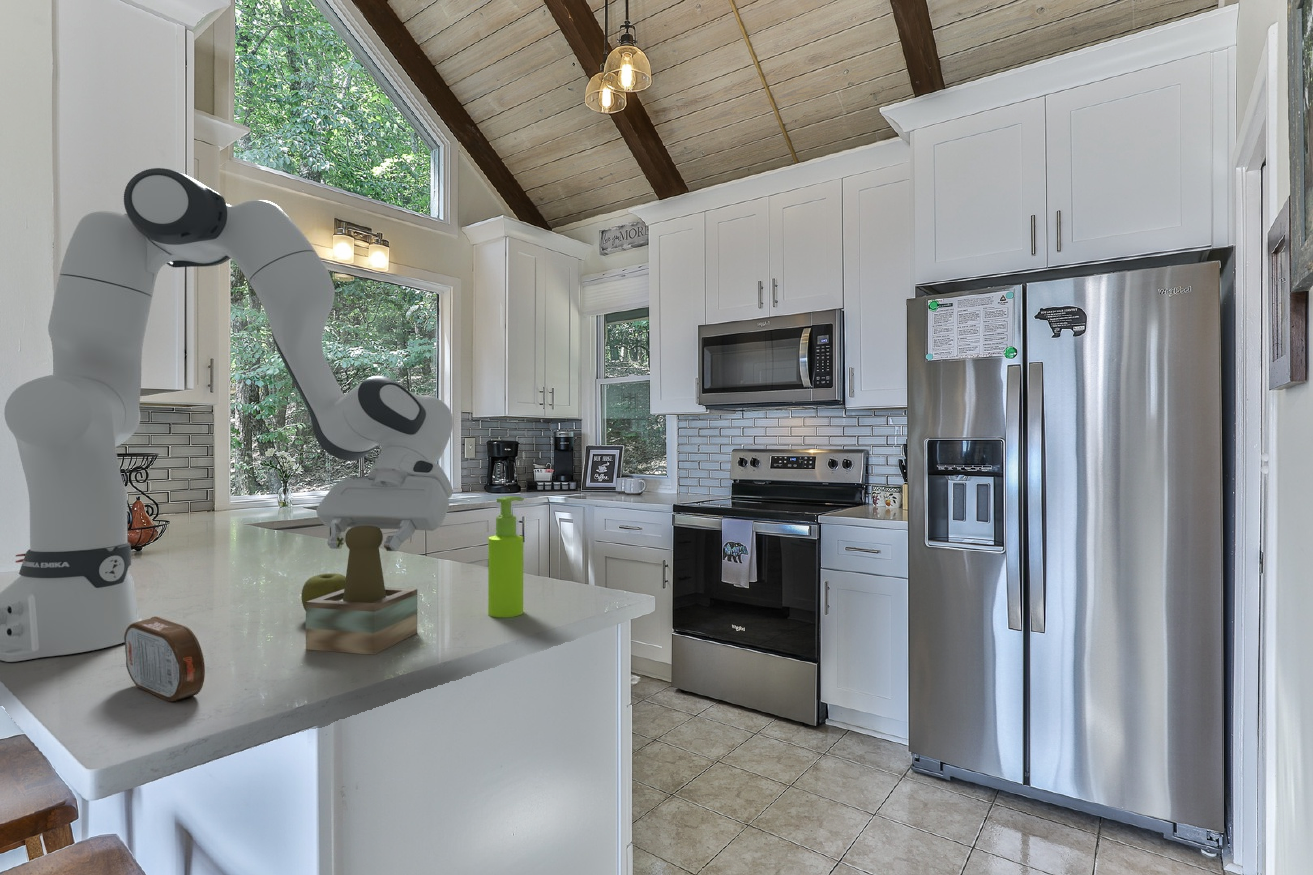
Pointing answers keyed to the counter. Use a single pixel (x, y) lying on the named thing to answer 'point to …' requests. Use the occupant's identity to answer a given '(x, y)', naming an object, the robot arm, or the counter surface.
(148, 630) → the tin
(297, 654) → the counter surface
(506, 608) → the soap dispenser
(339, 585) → the apple
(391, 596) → the brown wooden square box
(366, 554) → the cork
